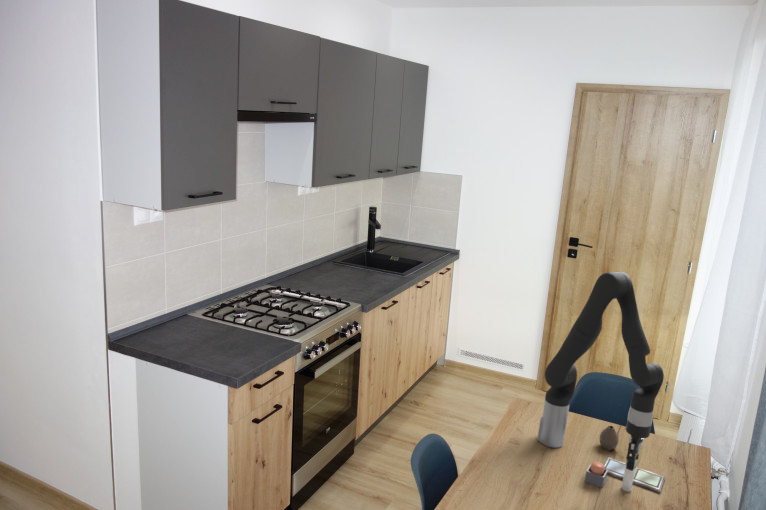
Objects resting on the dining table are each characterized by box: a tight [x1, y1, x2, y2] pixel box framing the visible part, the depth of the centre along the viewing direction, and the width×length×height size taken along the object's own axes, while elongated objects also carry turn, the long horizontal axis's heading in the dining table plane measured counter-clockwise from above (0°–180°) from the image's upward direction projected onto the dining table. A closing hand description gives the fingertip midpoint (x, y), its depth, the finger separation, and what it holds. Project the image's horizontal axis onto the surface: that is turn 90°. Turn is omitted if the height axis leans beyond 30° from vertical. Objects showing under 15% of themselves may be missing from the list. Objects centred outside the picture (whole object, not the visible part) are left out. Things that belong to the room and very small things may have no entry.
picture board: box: [603, 456, 666, 494], centre depth 218 cm, size 20×11×1 cm, turn 57°
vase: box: [599, 425, 620, 451], centre depth 235 cm, size 7×7×9 cm
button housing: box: [584, 463, 608, 489], centre depth 212 cm, size 6×6×4 cm
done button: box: [590, 461, 605, 476], centre depth 212 cm, size 4×4×3 cm
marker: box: [621, 458, 638, 493], centre depth 208 cm, size 4×4×11 cm
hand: (632, 464), depth 207 cm, fingers open, 8 cm apart
